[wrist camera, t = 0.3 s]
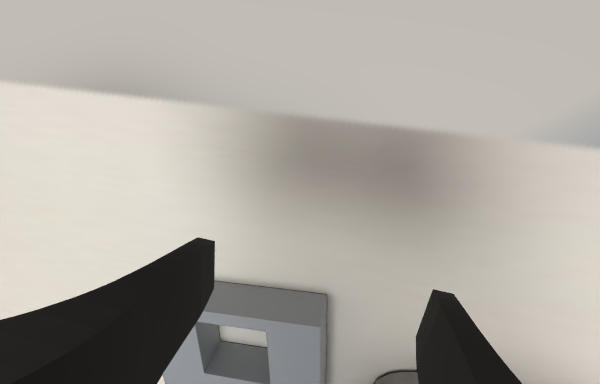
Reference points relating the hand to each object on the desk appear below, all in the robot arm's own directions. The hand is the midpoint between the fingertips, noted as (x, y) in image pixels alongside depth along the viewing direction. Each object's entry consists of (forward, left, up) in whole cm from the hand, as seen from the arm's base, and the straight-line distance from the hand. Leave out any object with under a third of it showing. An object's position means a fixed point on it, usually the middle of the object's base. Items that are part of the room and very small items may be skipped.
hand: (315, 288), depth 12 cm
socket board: (-13, +7, -10) cm, 18 cm away
